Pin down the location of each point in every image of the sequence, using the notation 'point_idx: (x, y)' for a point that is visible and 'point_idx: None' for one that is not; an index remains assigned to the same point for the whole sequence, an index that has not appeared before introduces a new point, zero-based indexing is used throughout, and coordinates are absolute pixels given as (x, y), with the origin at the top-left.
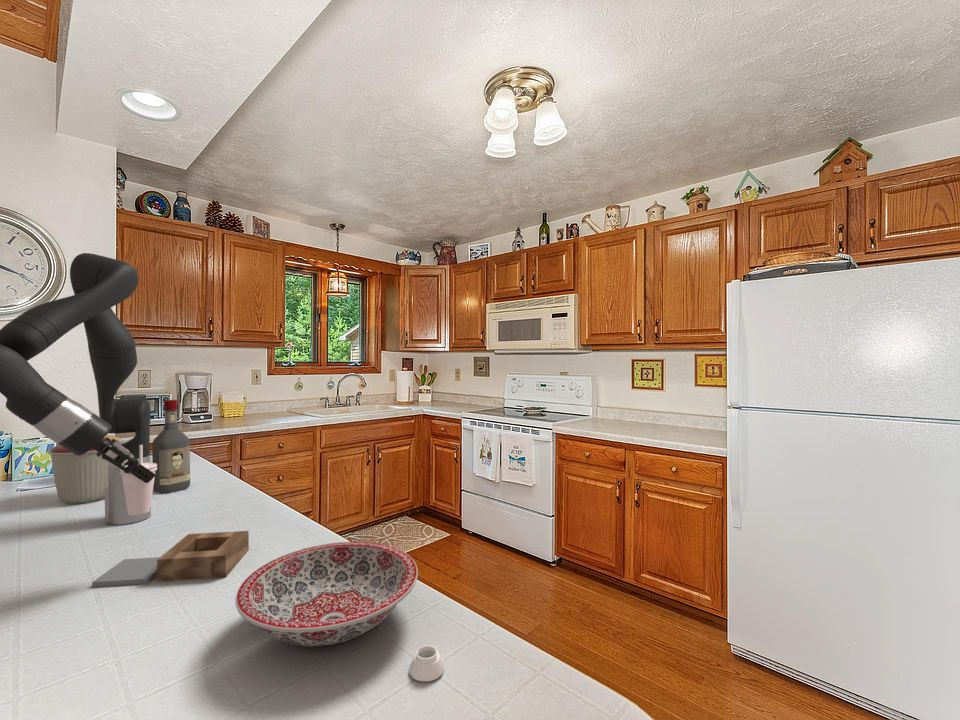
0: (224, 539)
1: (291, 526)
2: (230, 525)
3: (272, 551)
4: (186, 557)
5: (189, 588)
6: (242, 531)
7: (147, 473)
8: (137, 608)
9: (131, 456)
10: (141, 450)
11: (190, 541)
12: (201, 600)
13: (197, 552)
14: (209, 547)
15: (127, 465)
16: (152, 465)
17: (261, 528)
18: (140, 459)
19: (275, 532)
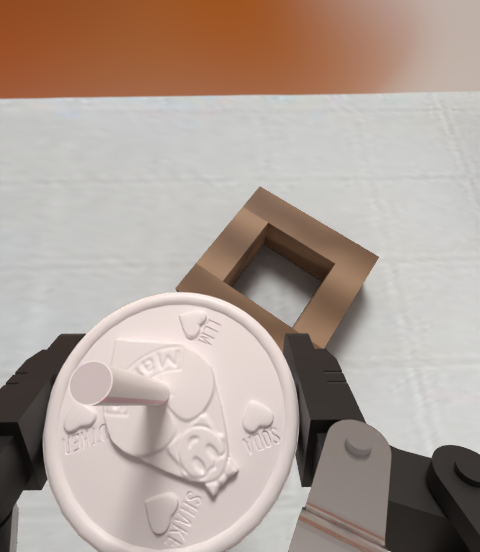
0: (260, 235)
1: (193, 122)
2: (80, 199)
3: (295, 183)
4: (336, 322)
5: (369, 337)
6: (255, 196)
7: (343, 376)
8: (401, 434)
9: (336, 524)
10: (132, 382)
11: (235, 295)
12: (434, 331)
13: (321, 297)
14: (240, 267)
15: (62, 491)
16: (207, 323)
17: (156, 162)
18: (156, 397)
19: (202, 151)
